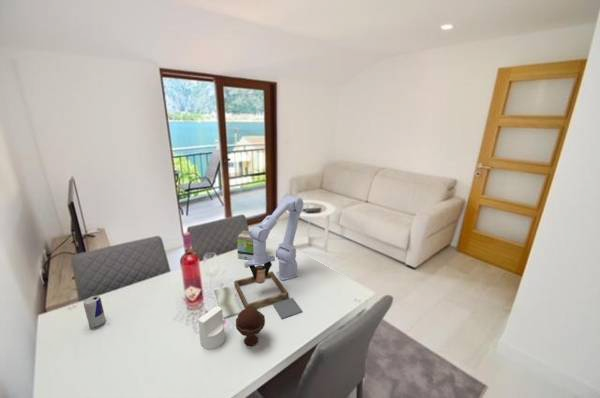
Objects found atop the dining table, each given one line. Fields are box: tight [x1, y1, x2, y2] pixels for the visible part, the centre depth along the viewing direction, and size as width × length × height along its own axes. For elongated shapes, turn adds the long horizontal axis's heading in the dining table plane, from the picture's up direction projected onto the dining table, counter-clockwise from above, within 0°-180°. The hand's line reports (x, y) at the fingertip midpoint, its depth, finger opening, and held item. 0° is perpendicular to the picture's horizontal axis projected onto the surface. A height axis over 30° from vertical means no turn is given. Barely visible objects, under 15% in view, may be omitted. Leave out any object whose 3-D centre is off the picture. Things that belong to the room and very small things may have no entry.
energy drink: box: [83, 295, 107, 330], centre depth 105 cm, size 5×5×12 cm
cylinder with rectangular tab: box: [197, 305, 226, 350], centre depth 99 cm, size 9×9×12 cm
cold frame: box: [214, 271, 289, 320], centre depth 126 cm, size 30×20×3 cm
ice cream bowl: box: [235, 308, 266, 348], centre depth 99 cm, size 11×11×15 cm
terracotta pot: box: [254, 264, 266, 285], centre depth 126 cm, size 5×5×7 cm
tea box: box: [236, 230, 254, 261], centre depth 159 cm, size 15×10×15 cm, turn 81°
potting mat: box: [272, 297, 303, 320], centre depth 118 cm, size 10×10×1 cm
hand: (260, 276), depth 126 cm, fingers closed on terracotta pot, 5 cm apart
